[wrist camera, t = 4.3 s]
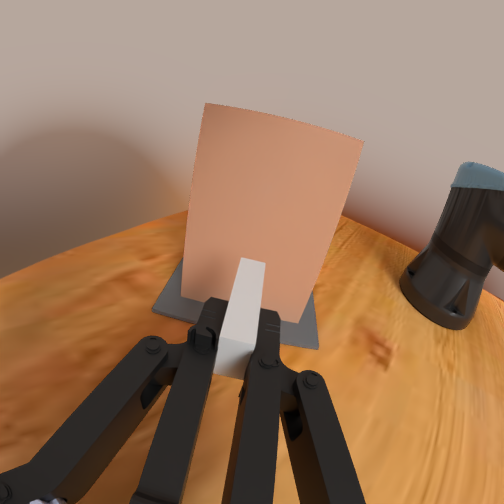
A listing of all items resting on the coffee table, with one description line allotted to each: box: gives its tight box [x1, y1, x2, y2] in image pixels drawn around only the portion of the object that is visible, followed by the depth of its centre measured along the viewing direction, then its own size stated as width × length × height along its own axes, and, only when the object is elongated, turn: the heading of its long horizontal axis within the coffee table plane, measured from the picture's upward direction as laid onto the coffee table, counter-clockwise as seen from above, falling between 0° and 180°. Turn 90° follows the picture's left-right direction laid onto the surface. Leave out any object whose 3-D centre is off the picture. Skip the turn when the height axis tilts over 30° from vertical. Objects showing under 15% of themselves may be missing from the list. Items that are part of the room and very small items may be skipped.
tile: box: [181, 103, 364, 323], centre depth 23 cm, size 2×12×18 cm, turn 84°
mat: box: [152, 257, 319, 350], centre depth 34 cm, size 24×16×1 cm, turn 174°
